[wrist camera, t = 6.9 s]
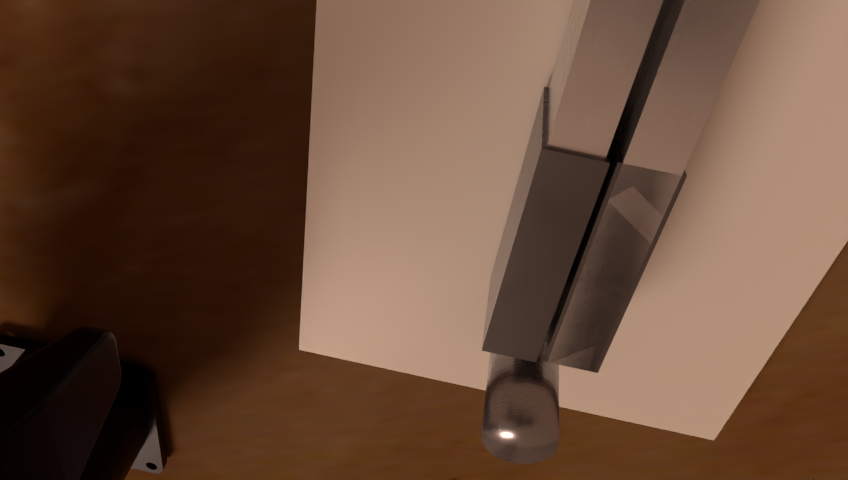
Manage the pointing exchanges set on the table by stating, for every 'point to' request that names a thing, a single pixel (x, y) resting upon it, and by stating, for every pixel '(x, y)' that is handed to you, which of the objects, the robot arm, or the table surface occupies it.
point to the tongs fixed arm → (620, 219)
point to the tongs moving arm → (564, 169)
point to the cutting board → (497, 178)
